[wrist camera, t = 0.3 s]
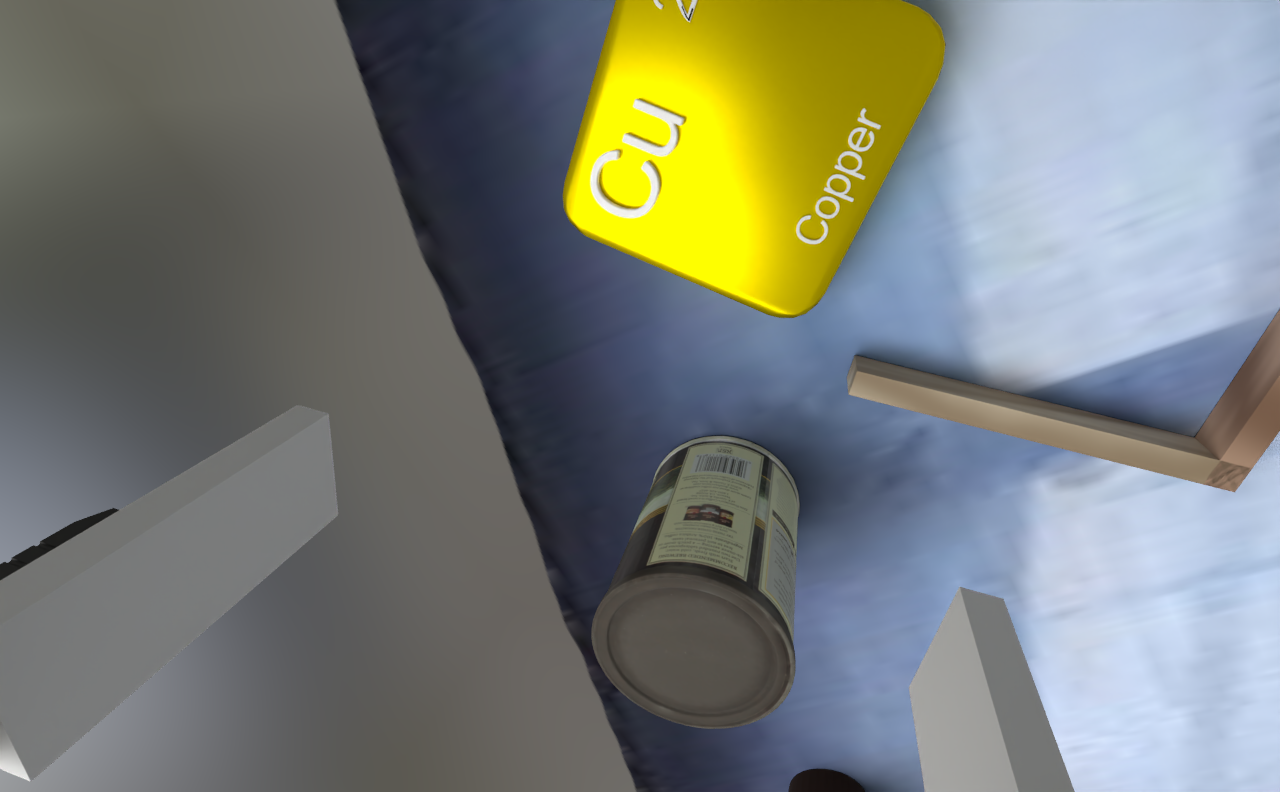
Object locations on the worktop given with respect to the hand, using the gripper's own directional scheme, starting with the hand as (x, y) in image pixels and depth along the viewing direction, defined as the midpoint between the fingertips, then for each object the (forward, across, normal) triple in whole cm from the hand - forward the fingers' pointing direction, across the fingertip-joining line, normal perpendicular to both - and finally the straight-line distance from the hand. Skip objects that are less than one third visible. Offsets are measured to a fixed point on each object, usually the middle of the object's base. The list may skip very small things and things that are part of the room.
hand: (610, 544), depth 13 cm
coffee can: (+27, +2, -17) cm, 32 cm away
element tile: (+28, -2, +6) cm, 28 cm away
